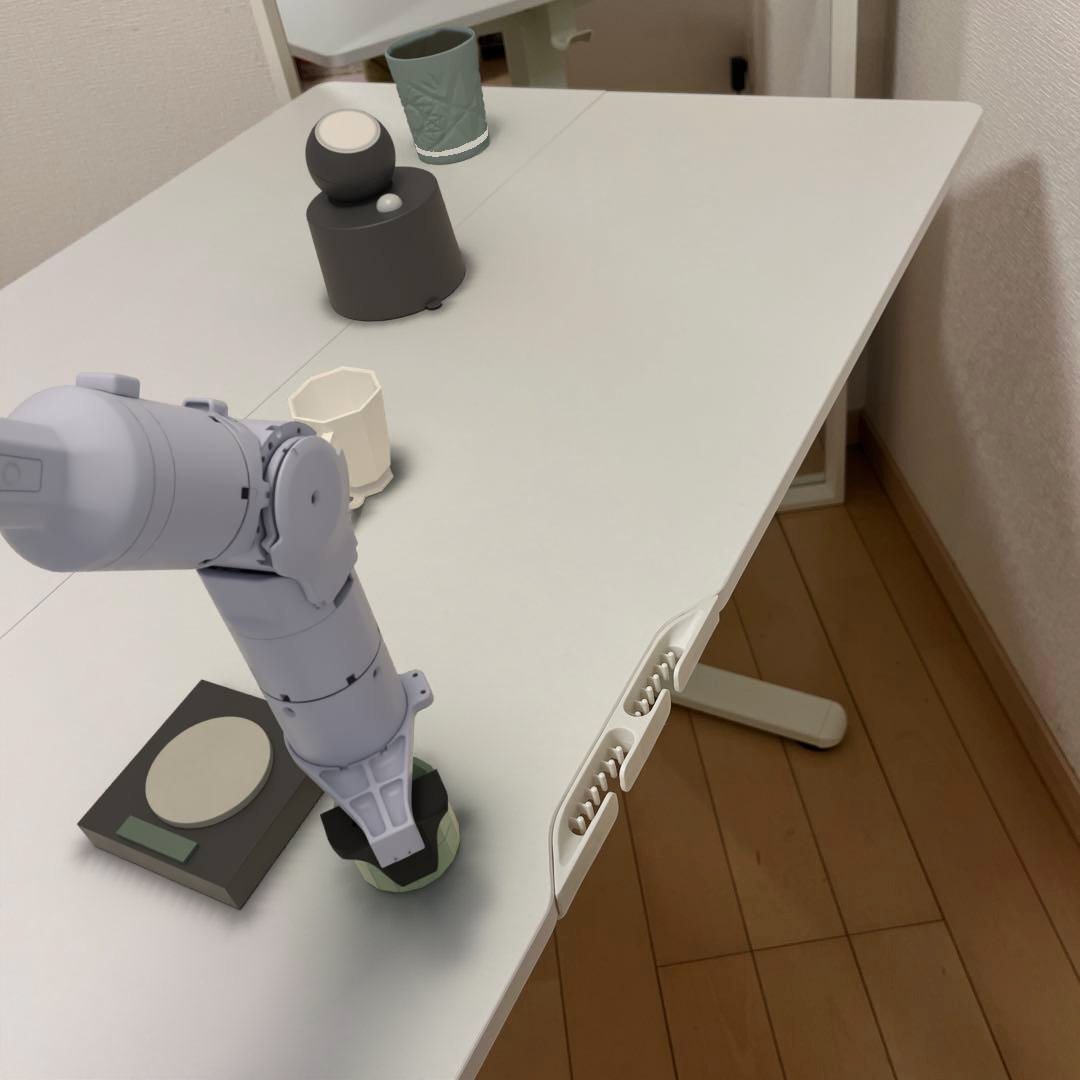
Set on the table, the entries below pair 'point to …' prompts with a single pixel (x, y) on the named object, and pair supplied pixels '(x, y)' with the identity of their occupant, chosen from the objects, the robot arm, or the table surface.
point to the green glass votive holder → (446, 846)
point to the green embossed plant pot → (440, 90)
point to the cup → (349, 424)
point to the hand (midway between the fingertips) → (399, 826)
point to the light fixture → (377, 222)
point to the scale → (207, 796)
